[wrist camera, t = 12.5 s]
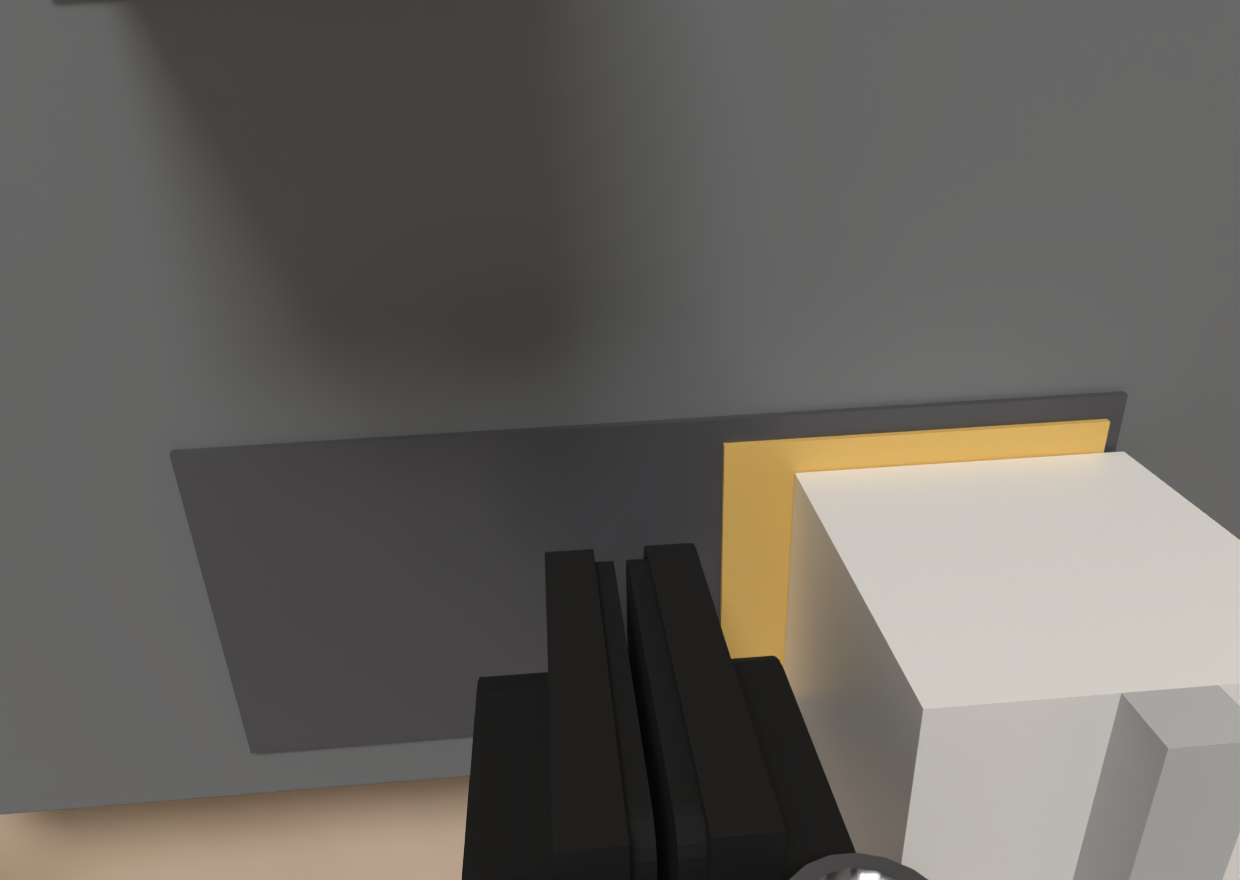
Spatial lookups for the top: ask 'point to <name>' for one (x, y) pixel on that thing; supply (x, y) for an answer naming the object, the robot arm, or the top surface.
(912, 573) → the tab
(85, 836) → the top surface
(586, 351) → the switch board
